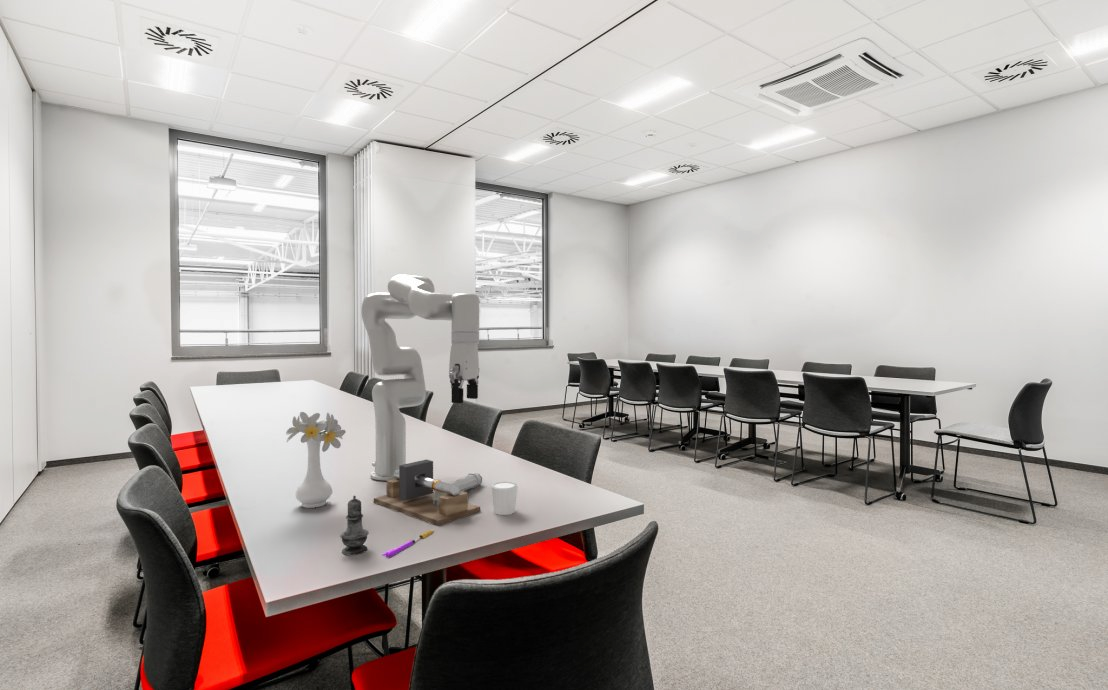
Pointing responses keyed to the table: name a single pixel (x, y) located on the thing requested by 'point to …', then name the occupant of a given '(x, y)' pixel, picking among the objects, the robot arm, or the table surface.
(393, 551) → the purple and yellow tool
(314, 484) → the flower vase
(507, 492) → the shot glass
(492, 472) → the table surface
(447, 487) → the pipe
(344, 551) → the salt shaker
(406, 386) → the robot arm
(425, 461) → the collar
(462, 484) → the light grey long piece
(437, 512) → the pipe stand
